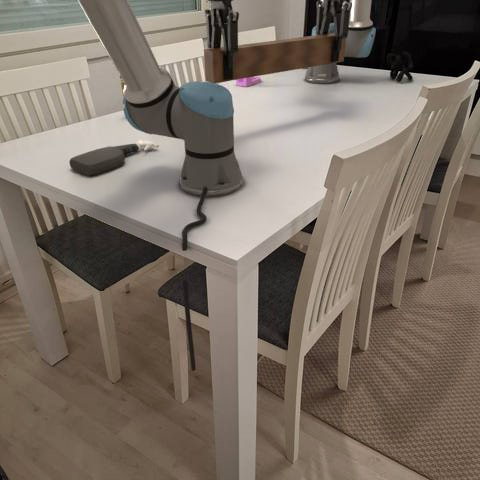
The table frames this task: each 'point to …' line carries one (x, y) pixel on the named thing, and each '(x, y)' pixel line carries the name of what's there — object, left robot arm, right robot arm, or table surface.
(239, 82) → the bracket
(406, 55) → the squiggle
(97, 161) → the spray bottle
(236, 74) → the bar
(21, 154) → the table surface
